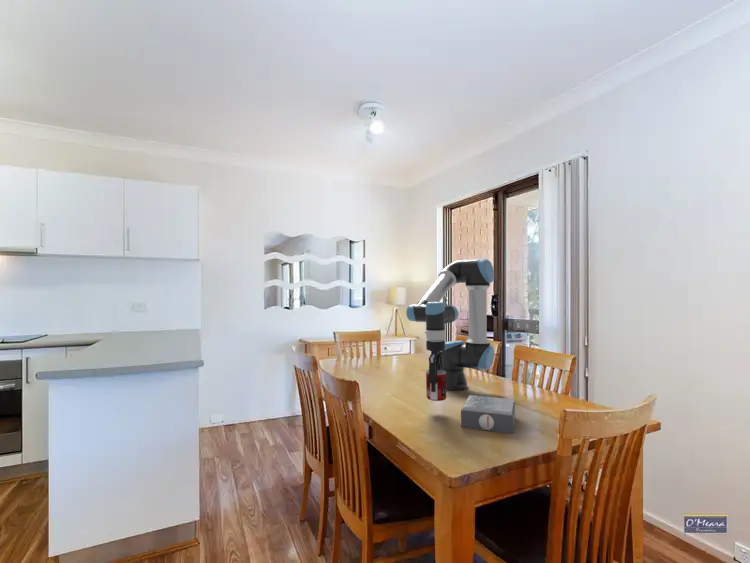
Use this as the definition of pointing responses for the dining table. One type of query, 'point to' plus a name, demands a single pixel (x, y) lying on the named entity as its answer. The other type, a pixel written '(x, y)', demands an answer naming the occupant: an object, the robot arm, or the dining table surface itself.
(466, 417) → the scale base
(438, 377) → the canned food
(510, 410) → the scale pan
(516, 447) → the dining table surface
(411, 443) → the dining table surface
